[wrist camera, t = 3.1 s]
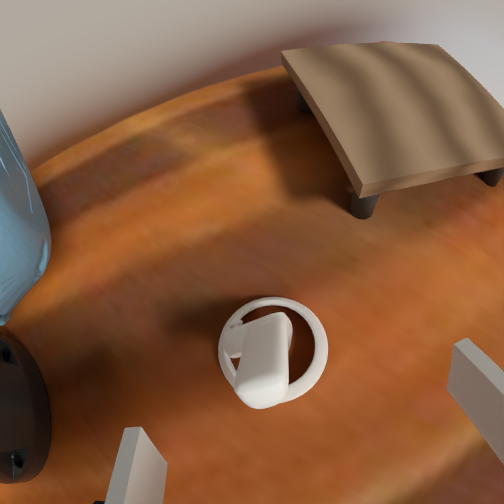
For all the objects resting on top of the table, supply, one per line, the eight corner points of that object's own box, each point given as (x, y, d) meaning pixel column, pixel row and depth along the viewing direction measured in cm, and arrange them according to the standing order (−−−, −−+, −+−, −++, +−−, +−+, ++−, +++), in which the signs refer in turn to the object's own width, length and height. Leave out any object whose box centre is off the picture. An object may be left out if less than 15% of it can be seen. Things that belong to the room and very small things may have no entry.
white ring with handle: (234, 499, 13) (154, 412, 12) (248, 383, 25) (204, 313, 24) (373, 456, 12) (321, 350, 11) (333, 346, 24) (295, 269, 23)
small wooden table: (348, 235, 25) (363, 184, 19) (283, 99, 33) (280, 51, 27) (509, 191, 25) (537, 152, 19) (427, 84, 33) (437, 44, 27)
